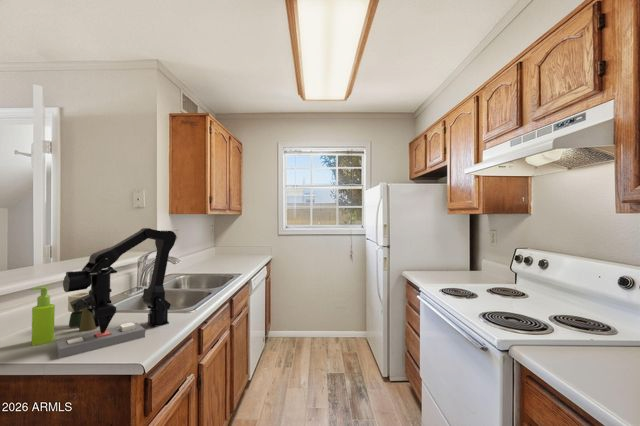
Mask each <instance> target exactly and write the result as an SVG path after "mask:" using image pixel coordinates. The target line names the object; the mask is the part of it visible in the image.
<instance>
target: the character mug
mask: <svg viewBox="0 0 640 426" xmlns="http://www.w3.org/2000/svg"><path fill="white" fill-rule="evenodd" d="M88 294H89V292H77V293H72V294H69V295H68V298H67V311H68V312H69V313H71V314H70V316H69V322H68V327H70V328H73V327H79V328H80V323H81V317H82V311H81V310H80V311H78V312H74V311H73V308H72V306H71V304H70V302H71V301H74V300H76V299H78V298H81V297H83V296H86V295H88Z"/></svg>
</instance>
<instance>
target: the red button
mask: <svg viewBox="0 0 640 426" xmlns="http://www.w3.org/2000/svg"><path fill="white" fill-rule="evenodd" d="M107 335H111V333H110V332H109V331H105V333H101V332H99V333H95V337H96V338H99V337H103V336H107Z"/></svg>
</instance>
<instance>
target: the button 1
mask: <svg viewBox="0 0 640 426" xmlns="http://www.w3.org/2000/svg"><path fill="white" fill-rule="evenodd" d="M81 341H84V339H83V338H82V337H80V338H76V339H71V340H67V345H68V344H73V343H77V342H81Z"/></svg>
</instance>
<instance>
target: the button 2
mask: <svg viewBox="0 0 640 426" xmlns="http://www.w3.org/2000/svg"><path fill="white" fill-rule="evenodd" d="M134 323H135V322H134ZM134 323H133V322H127V323H122V324H120V325H119V327H120V331H121V332H125V331H129V330H134V329H135V324H134Z"/></svg>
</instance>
